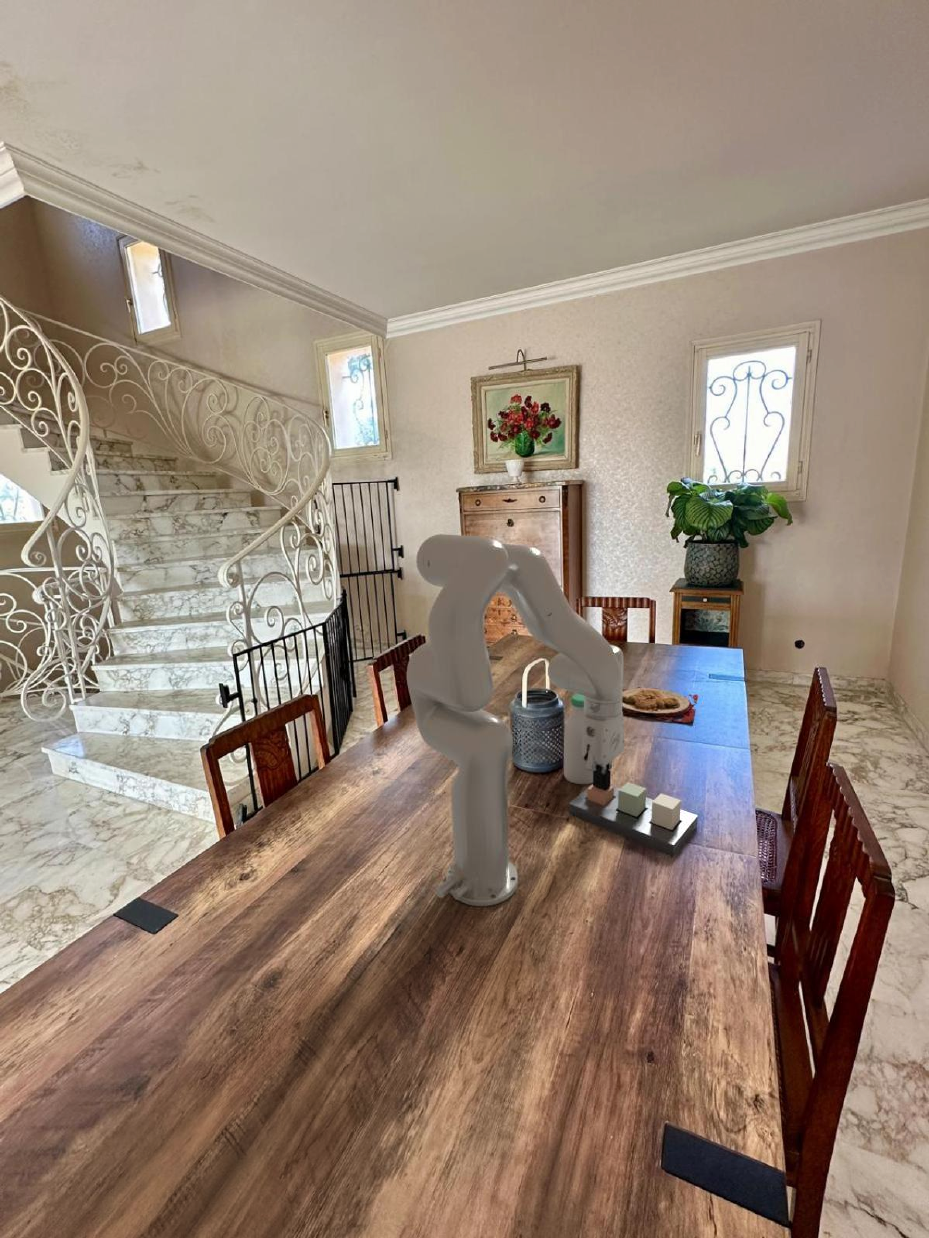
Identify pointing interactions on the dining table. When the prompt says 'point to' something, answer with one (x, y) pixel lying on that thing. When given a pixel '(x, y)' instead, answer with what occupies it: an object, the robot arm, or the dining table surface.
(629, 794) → the sage key
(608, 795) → the terracotta key
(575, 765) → the milk bottle
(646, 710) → the plate with food
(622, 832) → the panel
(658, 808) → the ivory key
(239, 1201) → the dining table surface
